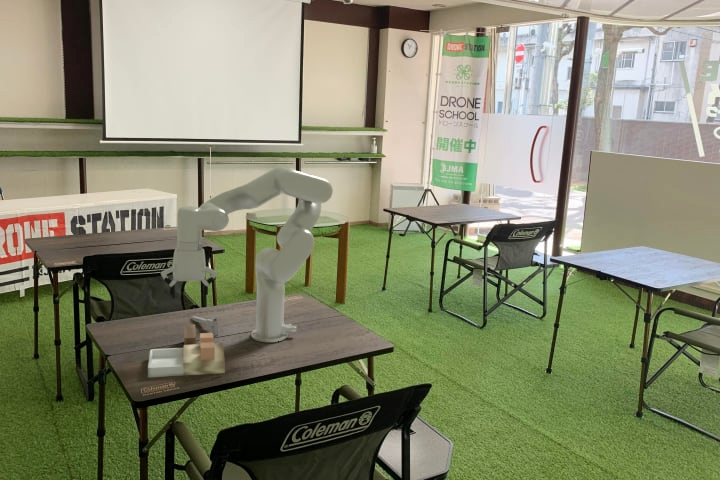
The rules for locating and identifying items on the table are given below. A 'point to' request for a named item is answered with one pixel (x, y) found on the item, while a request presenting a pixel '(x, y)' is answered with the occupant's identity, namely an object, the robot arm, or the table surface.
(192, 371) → the beige flat block
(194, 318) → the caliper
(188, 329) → the brown tapered block
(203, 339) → the pink cube
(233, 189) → the robot arm
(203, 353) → the tan wooden cube
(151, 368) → the tray
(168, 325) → the table surface
